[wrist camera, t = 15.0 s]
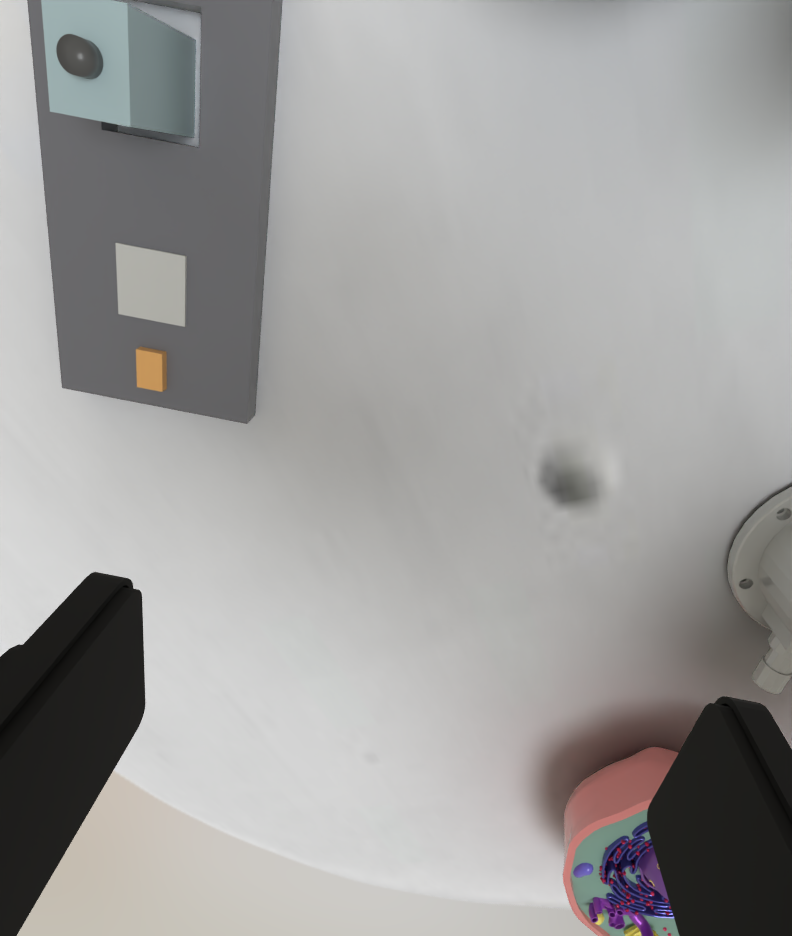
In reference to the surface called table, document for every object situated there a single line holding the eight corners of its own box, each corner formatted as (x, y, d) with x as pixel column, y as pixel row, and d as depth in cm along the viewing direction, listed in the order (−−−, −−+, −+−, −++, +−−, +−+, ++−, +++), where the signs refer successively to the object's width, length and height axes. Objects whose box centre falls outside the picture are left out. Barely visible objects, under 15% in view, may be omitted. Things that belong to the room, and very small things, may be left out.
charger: (194, 137, 32) (118, 125, 25) (129, 125, 32) (35, 109, 25) (195, 40, 30) (114, -4, 23) (126, 26, 30) (23, -22, 23)
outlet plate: (254, 414, 39) (244, 427, 37) (76, 380, 39) (56, 390, 37) (285, -49, 28) (272, -66, 26) (40, -95, 28) (8, -115, 26)
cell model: (539, 850, 56) (558, 999, 46) (555, 695, 47) (582, 835, 37) (728, 863, 54) (791, 1021, 44) (780, 704, 45) (874, 854, 35)
